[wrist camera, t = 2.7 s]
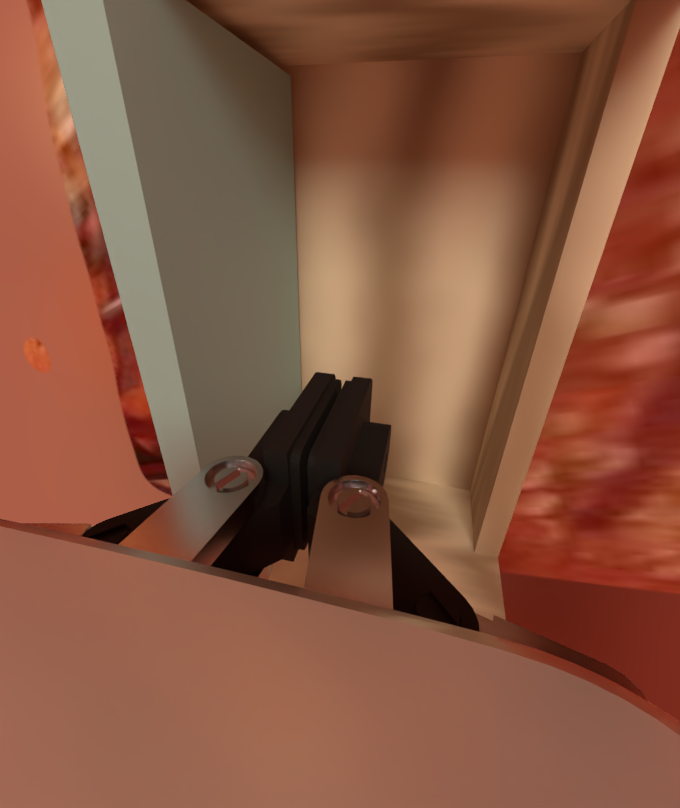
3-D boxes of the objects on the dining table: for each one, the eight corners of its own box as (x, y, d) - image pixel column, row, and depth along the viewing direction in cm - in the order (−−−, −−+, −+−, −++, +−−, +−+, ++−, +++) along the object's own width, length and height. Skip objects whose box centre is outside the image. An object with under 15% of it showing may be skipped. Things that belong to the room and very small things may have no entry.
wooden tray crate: (600, 41, 16) (948, -308, 5) (483, 476, 27) (504, 667, 16) (284, 57, 19) (45, -137, 8) (299, 444, 30) (213, 589, 19)
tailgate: (290, 75, 16) (88, -70, 7) (303, 458, 26) (226, 597, 17) (245, 77, 17) (1, -58, 8) (275, 453, 27) (186, 586, 18)
